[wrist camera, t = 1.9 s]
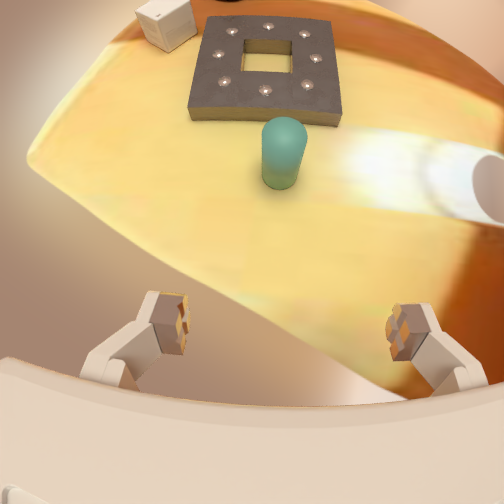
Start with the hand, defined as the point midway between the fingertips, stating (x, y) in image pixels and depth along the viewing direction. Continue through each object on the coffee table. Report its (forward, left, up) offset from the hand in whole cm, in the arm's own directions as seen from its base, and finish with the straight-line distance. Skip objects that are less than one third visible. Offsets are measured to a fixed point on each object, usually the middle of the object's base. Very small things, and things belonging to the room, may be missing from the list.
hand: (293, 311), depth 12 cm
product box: (+17, -38, -22) cm, 47 cm away
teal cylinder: (0, -14, -21) cm, 26 cm away
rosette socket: (+2, -30, -21) cm, 37 cm away
